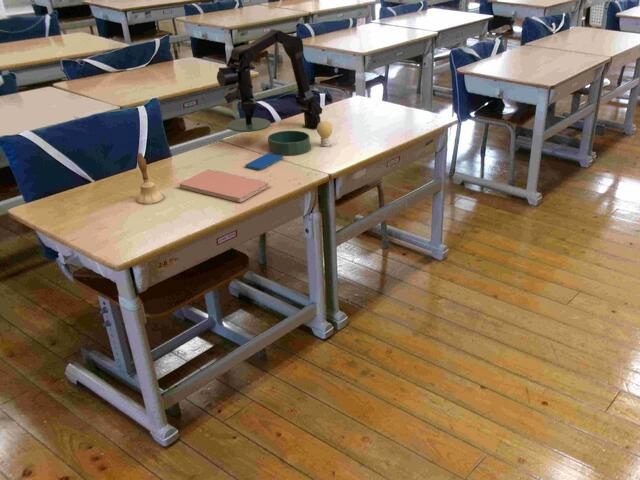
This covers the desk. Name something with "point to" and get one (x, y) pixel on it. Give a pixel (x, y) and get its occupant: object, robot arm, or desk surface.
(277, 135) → the tin
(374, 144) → the desk surface
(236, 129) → the tin lid
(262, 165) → the smartphone
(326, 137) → the light bulb
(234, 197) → the notebook
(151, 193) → the hand bell
